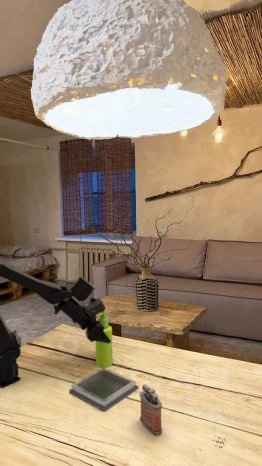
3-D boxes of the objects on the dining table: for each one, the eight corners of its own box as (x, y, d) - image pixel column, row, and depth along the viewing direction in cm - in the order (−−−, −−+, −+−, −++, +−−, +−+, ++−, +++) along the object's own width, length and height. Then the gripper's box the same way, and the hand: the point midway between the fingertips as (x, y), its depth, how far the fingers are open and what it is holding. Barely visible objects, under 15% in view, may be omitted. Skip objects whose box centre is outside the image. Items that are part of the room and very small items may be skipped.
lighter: (165, 432, 87) (165, 395, 86) (153, 437, 85) (153, 399, 84) (148, 415, 94) (147, 380, 93) (137, 419, 92) (136, 383, 91)
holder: (104, 411, 95) (104, 404, 95) (69, 392, 105) (69, 385, 105) (138, 388, 107) (138, 381, 107) (103, 373, 116) (103, 366, 116)
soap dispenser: (92, 367, 120) (90, 312, 118) (99, 358, 127) (98, 306, 125) (108, 369, 119) (106, 313, 117) (114, 360, 125) (113, 307, 123)
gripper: (97, 300, 110) (130, 329, 115) (85, 286, 128) (114, 311, 132) (73, 327, 108) (108, 355, 113) (64, 309, 126) (95, 334, 131)
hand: (106, 337), depth 122 cm, fingers open, 8 cm apart
